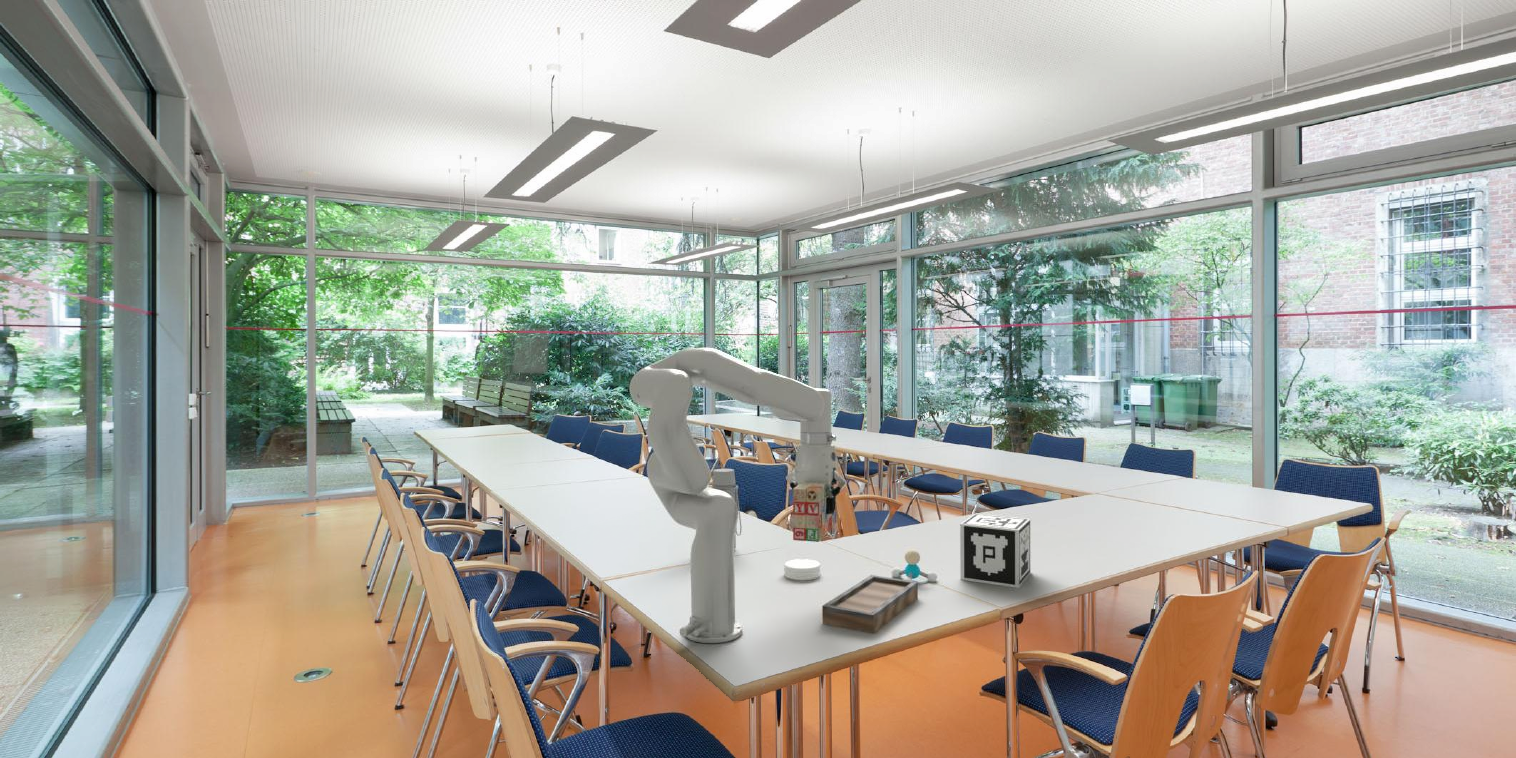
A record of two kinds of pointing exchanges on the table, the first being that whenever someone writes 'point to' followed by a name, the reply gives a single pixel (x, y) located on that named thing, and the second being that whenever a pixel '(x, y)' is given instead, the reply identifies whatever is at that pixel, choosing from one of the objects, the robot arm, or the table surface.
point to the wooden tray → (870, 603)
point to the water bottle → (726, 487)
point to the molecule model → (913, 568)
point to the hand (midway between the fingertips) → (815, 511)
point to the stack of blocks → (811, 512)
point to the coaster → (802, 569)
